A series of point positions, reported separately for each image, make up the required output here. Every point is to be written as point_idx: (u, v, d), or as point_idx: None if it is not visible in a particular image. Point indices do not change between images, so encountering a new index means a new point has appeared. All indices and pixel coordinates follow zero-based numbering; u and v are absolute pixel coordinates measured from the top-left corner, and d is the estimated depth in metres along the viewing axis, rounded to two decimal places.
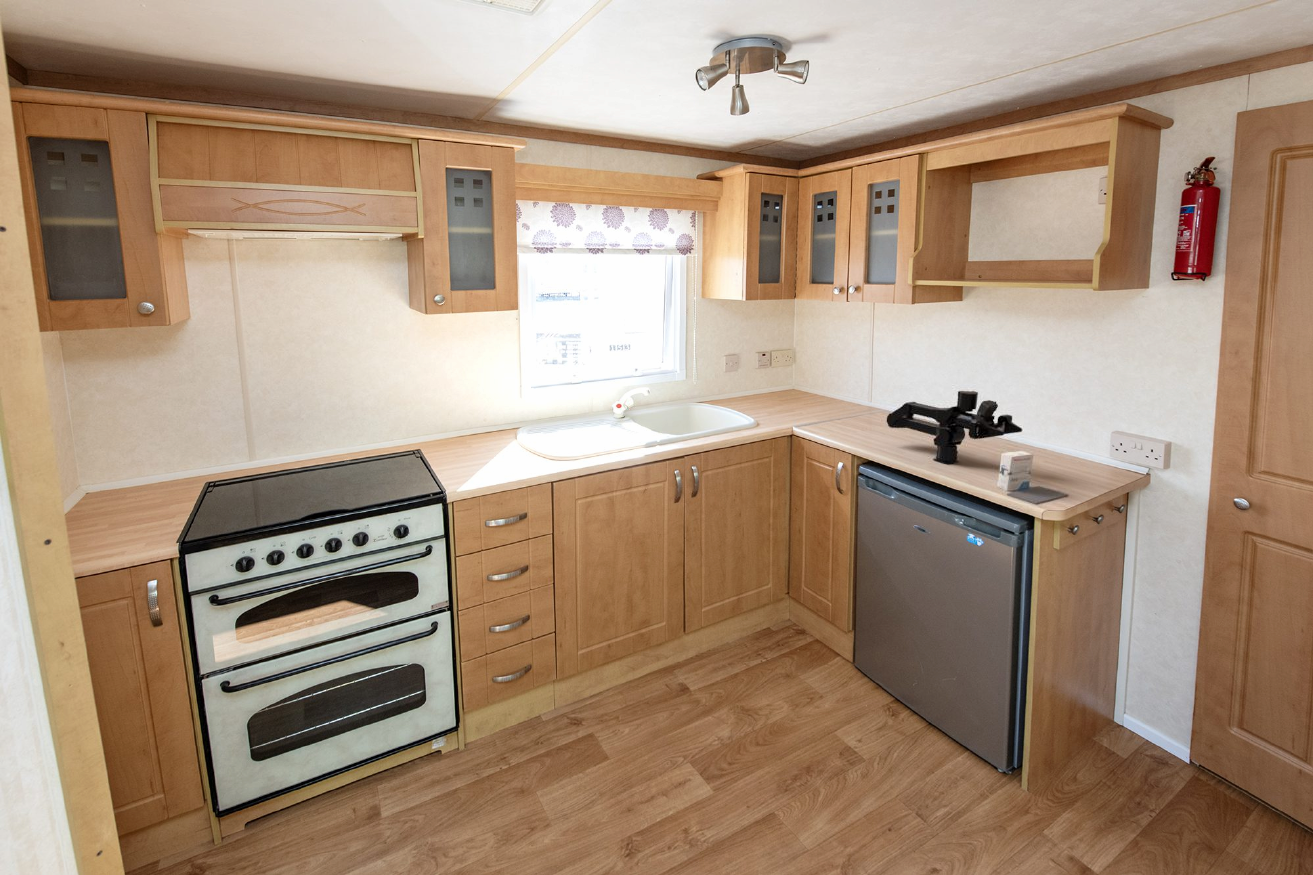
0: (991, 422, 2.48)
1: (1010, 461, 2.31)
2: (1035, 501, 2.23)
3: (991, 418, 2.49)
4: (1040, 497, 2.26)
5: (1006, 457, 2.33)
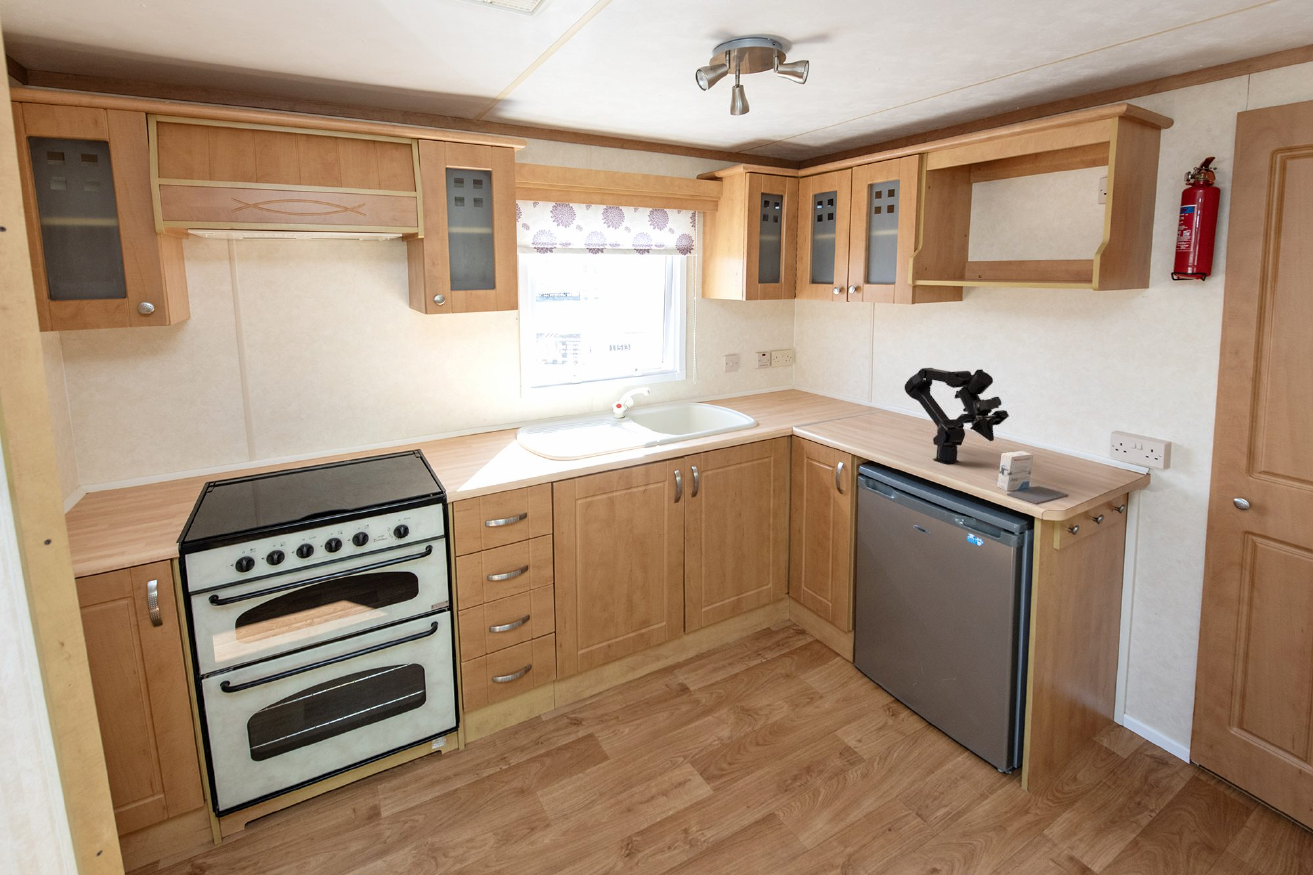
0: (984, 417, 2.47)
1: (1010, 461, 2.31)
2: (1035, 501, 2.23)
3: (987, 412, 2.47)
4: (1040, 497, 2.26)
5: (1006, 457, 2.33)
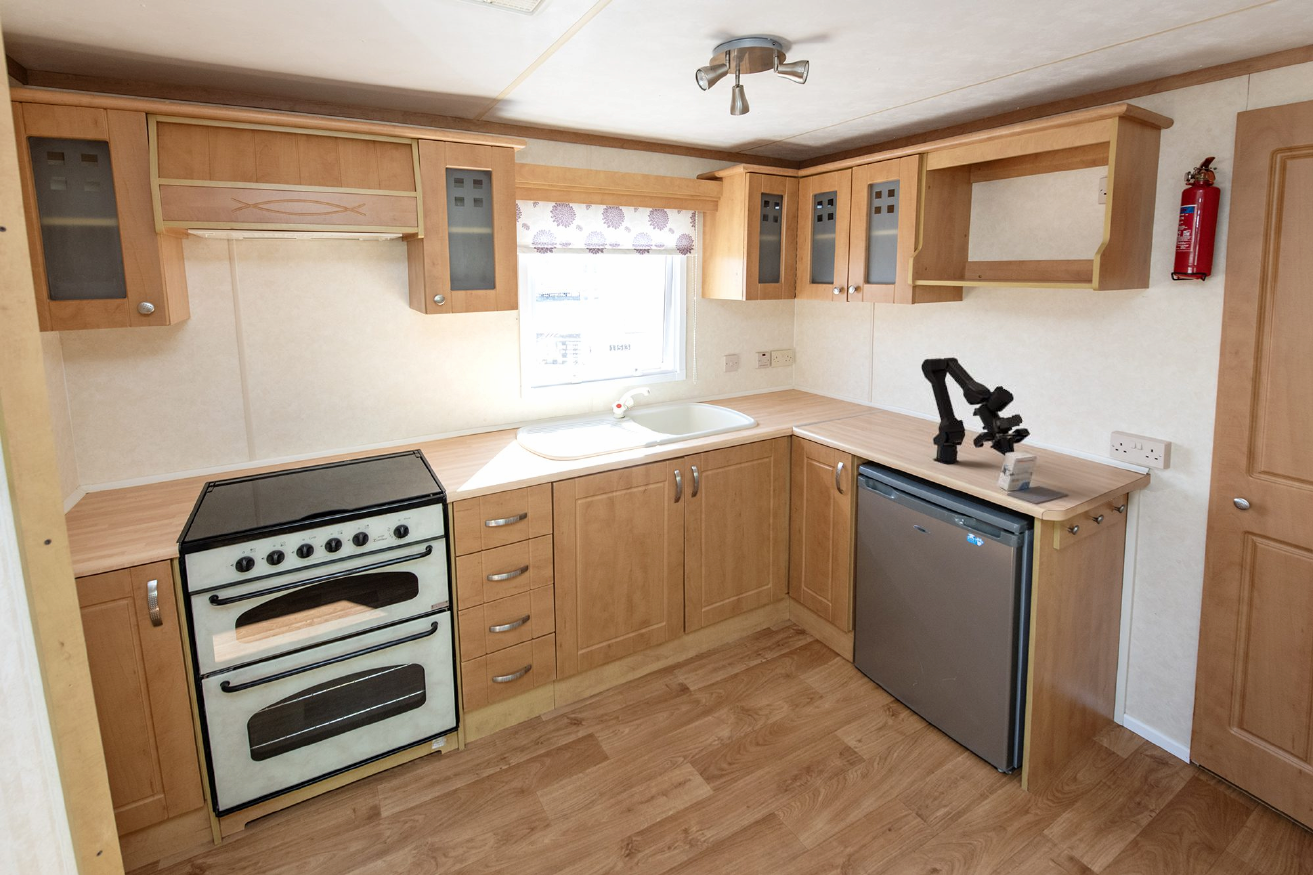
0: (1004, 435, 2.39)
1: (1013, 462, 2.30)
2: (1035, 501, 2.23)
3: (1007, 430, 2.39)
4: (1040, 497, 2.26)
5: (1009, 458, 2.32)
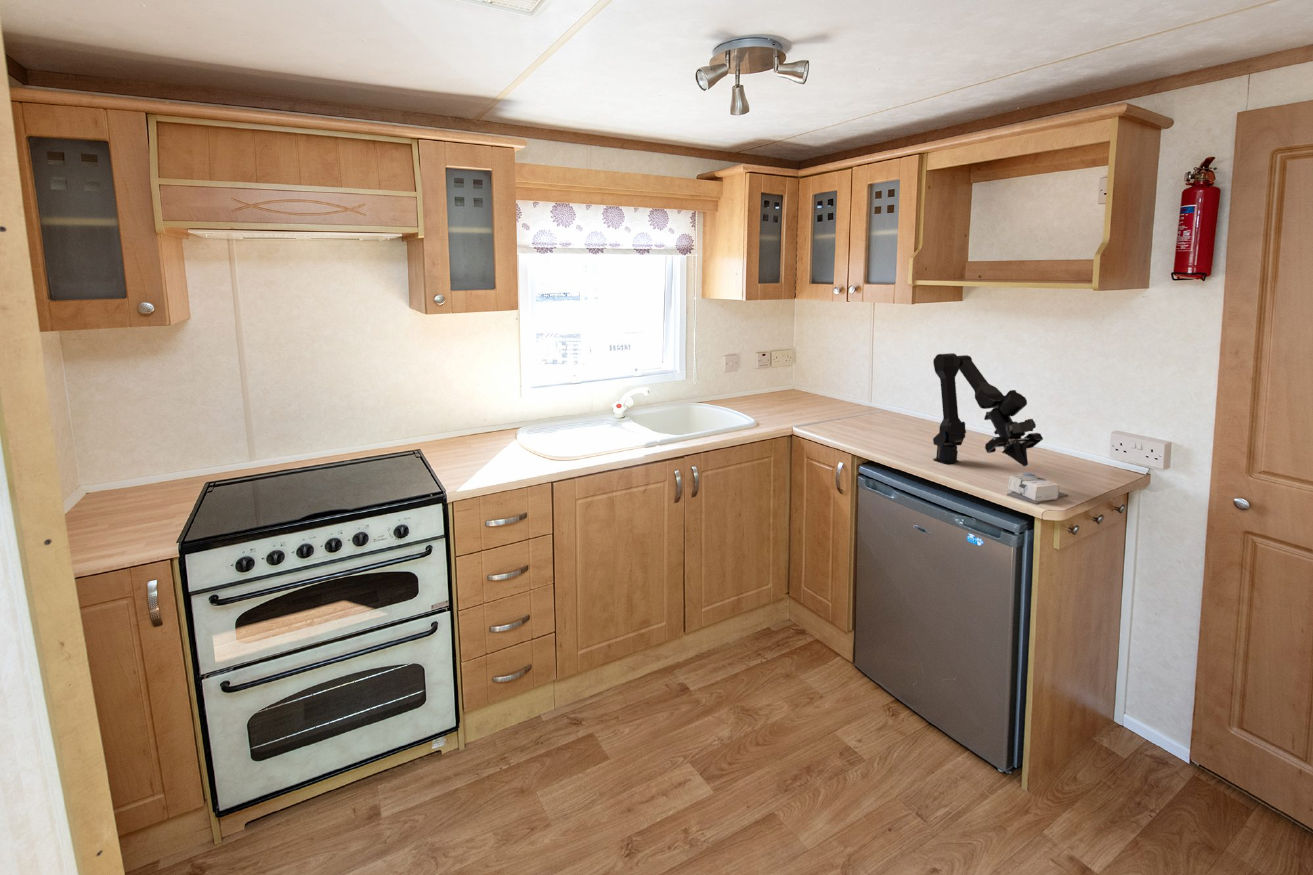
0: (1016, 440, 2.34)
1: (1031, 498, 2.24)
2: (1035, 501, 2.23)
3: (1020, 435, 2.34)
4: None
5: (1033, 492, 2.23)
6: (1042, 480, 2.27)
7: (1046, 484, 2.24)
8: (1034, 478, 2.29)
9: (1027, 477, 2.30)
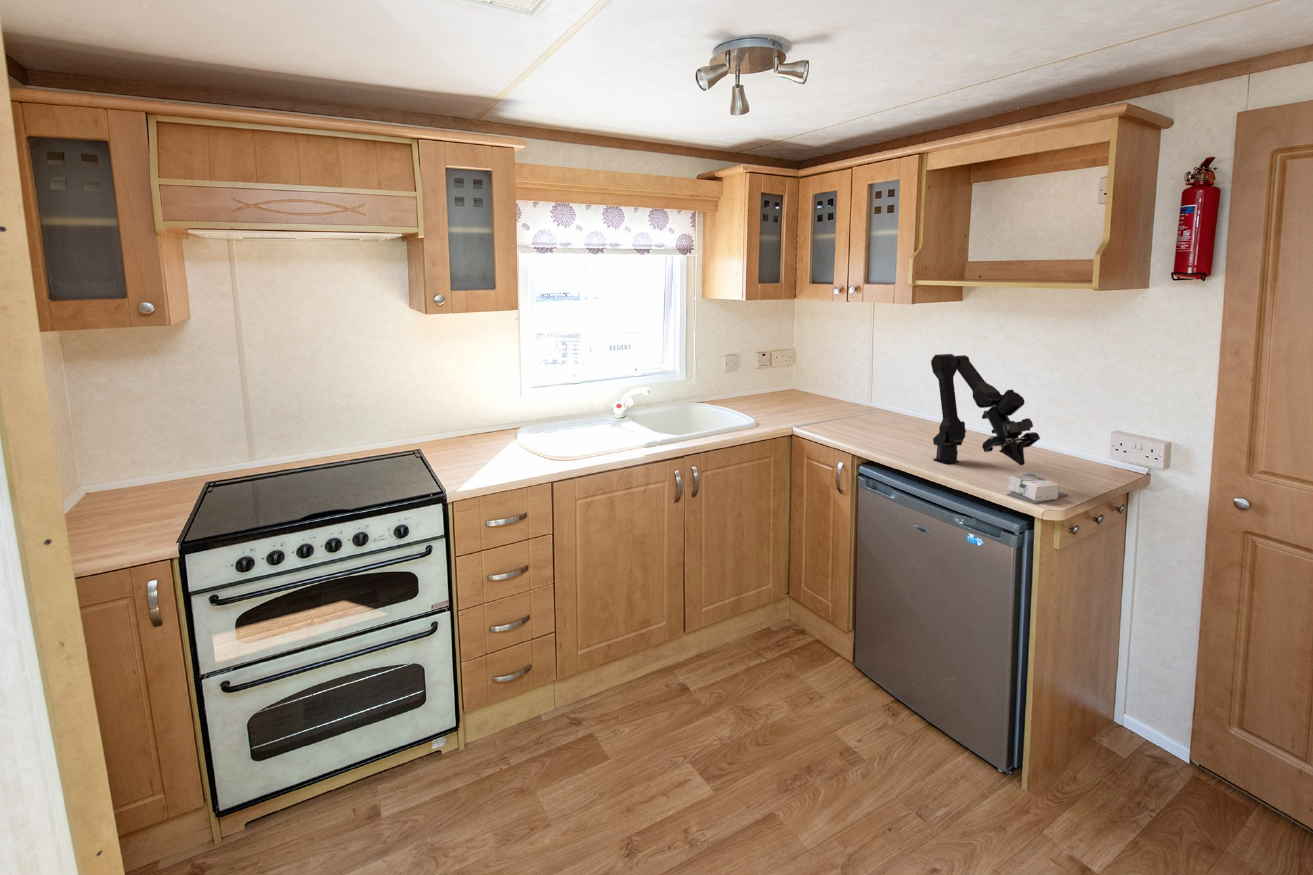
0: (1014, 439, 2.35)
1: (1031, 498, 2.24)
2: (1035, 501, 2.23)
3: (1017, 435, 2.35)
4: None
5: (1033, 492, 2.23)
6: (1042, 480, 2.27)
7: (1046, 484, 2.24)
8: (1034, 478, 2.29)
9: (1027, 477, 2.30)
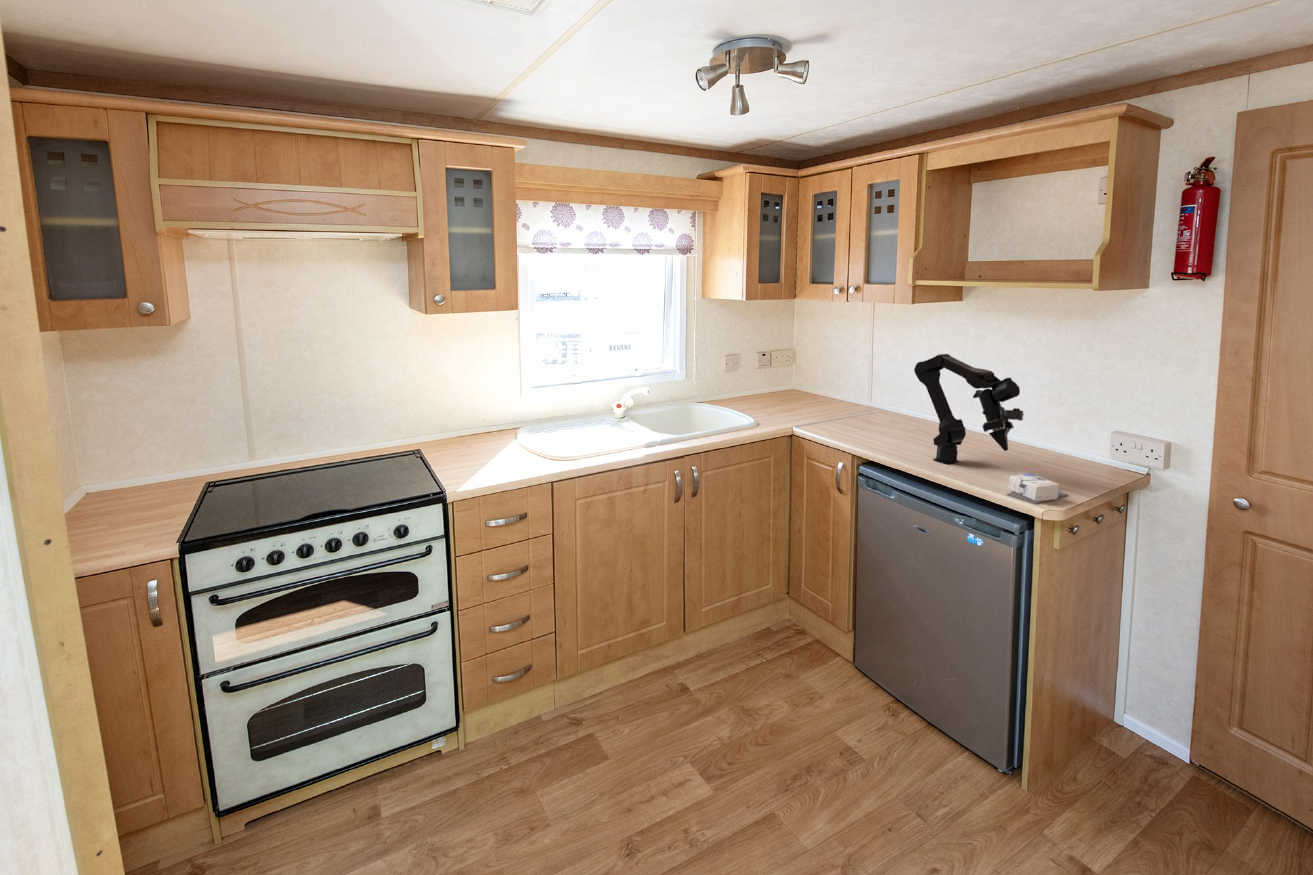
0: None
1: (1031, 498, 2.24)
2: (1035, 501, 2.23)
3: (1005, 421, 2.45)
4: None
5: (1033, 492, 2.23)
6: (1042, 480, 2.27)
7: (1046, 484, 2.24)
8: (1034, 478, 2.29)
9: (1027, 477, 2.30)
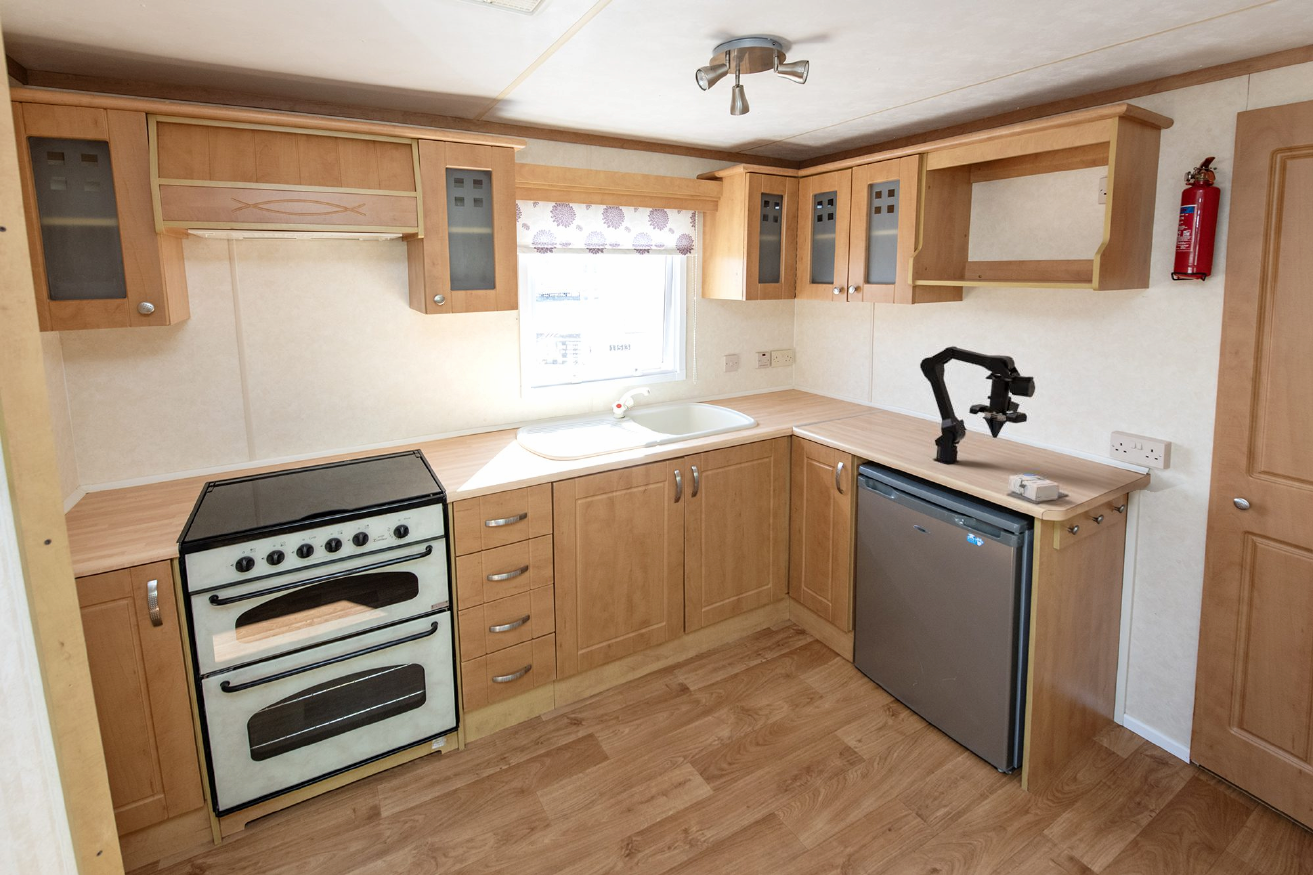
0: None
1: (1031, 498, 2.24)
2: (1035, 501, 2.23)
3: None
4: None
5: (1033, 492, 2.23)
6: (1042, 480, 2.27)
7: (1046, 484, 2.24)
8: (1034, 478, 2.29)
9: (1027, 477, 2.30)
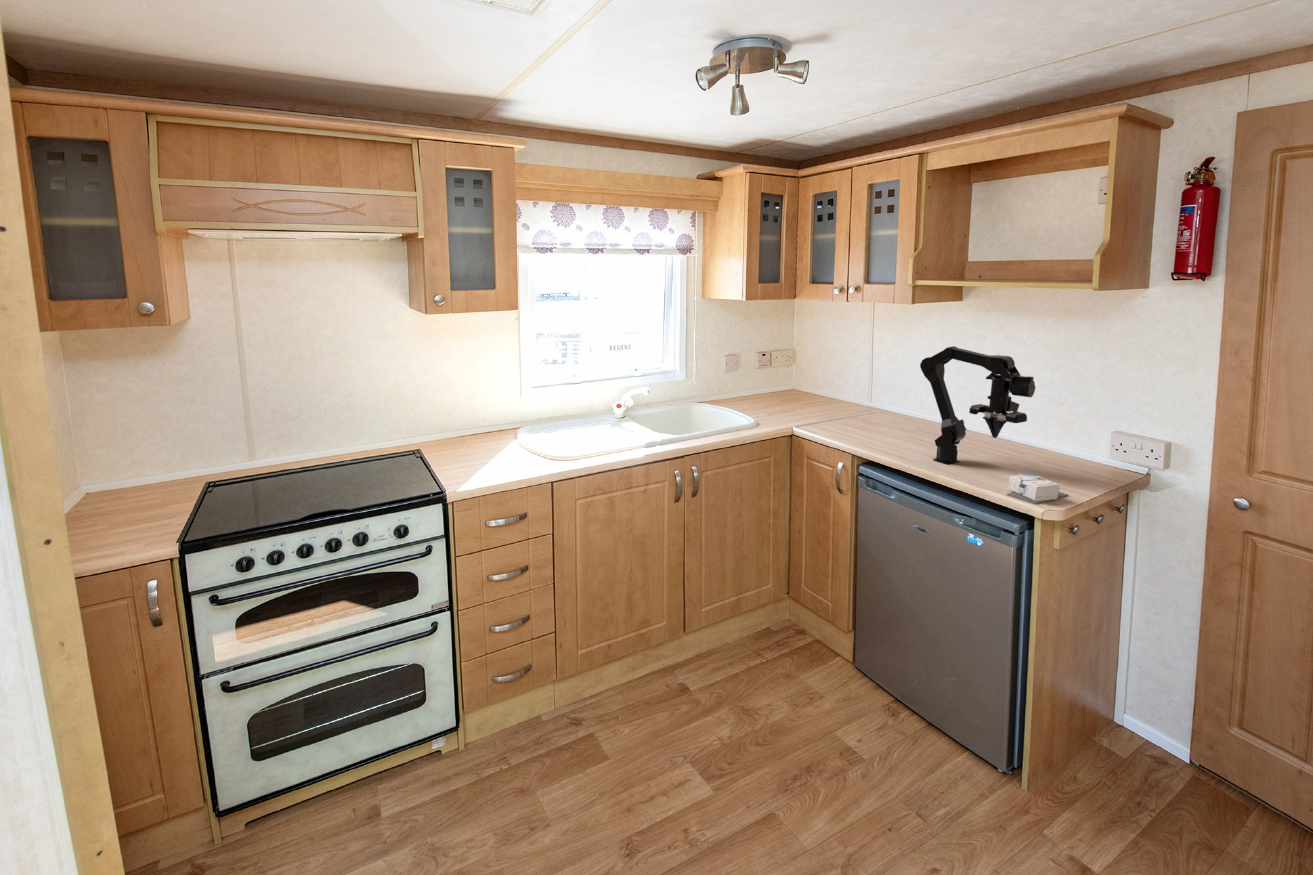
0: None
1: (1031, 498, 2.24)
2: (1035, 501, 2.23)
3: None
4: None
5: (1033, 492, 2.23)
6: (1042, 480, 2.27)
7: (1046, 484, 2.24)
8: (1034, 478, 2.29)
9: (1027, 477, 2.30)
